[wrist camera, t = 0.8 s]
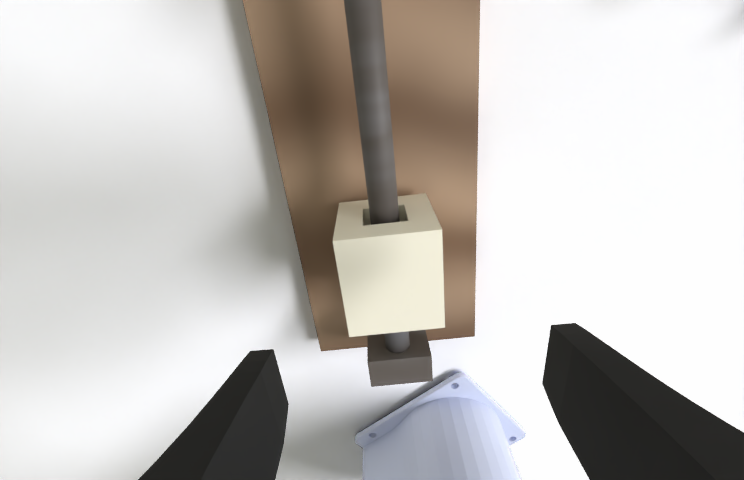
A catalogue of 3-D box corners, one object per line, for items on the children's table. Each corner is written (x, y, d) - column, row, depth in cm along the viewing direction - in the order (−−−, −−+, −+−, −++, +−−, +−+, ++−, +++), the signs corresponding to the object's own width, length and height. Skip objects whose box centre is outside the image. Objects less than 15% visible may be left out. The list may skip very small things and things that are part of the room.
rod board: (470, 325, 22) (498, 395, 18) (322, 339, 23) (311, 412, 18) (476, -318, 11) (553, -579, 7) (190, -274, 12) (73, -495, 7)
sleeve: (429, 276, 19) (445, 327, 15) (352, 284, 19) (349, 337, 15) (425, 193, 17) (442, 229, 13) (339, 202, 17) (332, 241, 13)
